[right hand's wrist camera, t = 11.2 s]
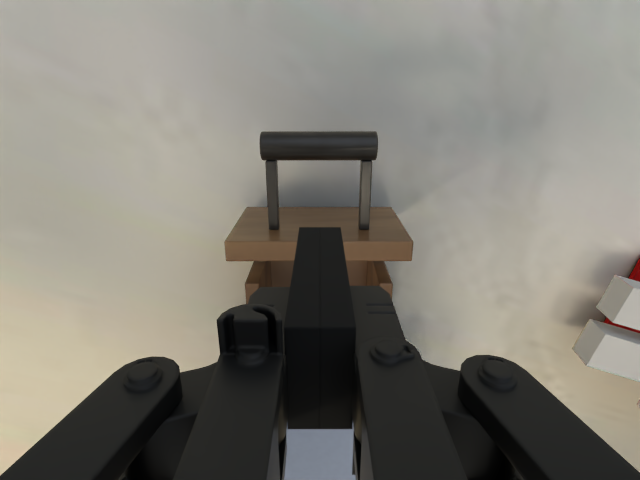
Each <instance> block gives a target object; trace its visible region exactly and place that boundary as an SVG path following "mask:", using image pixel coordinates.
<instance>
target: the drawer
mask: <svg viewBox="0 0 640 480" xmlns="http://www.w3.org/2000/svg"><path fill="white" fill-rule="evenodd" d="M377 152H378V136H377V132H261V134H260V154H261V158H262V160H266V183H267V204H268V207H247V208H246V209H245V211H244V212H243V214H242V215H241V217H240V219H239V220H238V222H237V223H236V225H235V226H234V228H233V229H232V231H231V233H230V234H229V236H228V237H227V239H226V240H225V253H226V261H254V262H253V265H252V267H251V270H250V272H249V275H248V277H247V280H246V283H245V292H246V304H248V301H249V298H250V295H252V294H253V293H254V292H255V291H256V290H257V289H259V288H260V287H290V284H291V278H292V272H293V265H294V259H295V252H296V246H297V239H298V233H299V227H341V233H342V239H343V246H344V252H345V259H346V265H347V272H348V278H349V284H350V286H381V287H382V288H383V289H384V290H385V291H387V292H388V293H389V294H390V297H391V300H392V289H393V283H392V281H391V278H390V276H389V273H388V270H387V268H386V265H385V263H384V261H411V260H412V251H413V240H412V239H411V237H410V236H409V234H408V233H407V231H406V229H405V228H404V226H403V225H402V223H401V222H400V220H399V218H398V217H397V215H396V214H395V212H394V211H393V209H392V207H370V201H371V179H372V161H371V160H376V158H377ZM277 160H361V164H360V192H359V207H279V196H278V169H277Z"/></svg>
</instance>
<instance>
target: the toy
mask: <svg viewBox="0 0 640 480" xmlns="http://www.w3.org/2000/svg"><path fill="white" fill-rule="evenodd" d="M596 308H597V309H599V310H600V311H601V312H602V313H603V314H604V315H605V316H606V319H605V321H604V322H600V321H596V320H593V319H589V320H588V322H587V324H586V325H585V327H584V329H583V331H582V332H581V334H580V336H579V338H578V339H577V341H576V343H575V344H574V346H573V348H572V349H573V350H574V351H575V352H576V354H577V355H578V356H579V357H580V359H581V360H582V361H583V362H584V364H585V365H586V366H588V367H591V368H595V369H598V370H601V371H605V372H608V373H611V374H615V375H618V376H621V377H625V378H628V379H631V380H635V381H638V382H640V258H639V260H638V262H637V264H636V265H635V267H634V269H633V271H632V273H631V274H630V276H629V278H625V277H621V276H618V275H614V277H613V279H612V281H611V282H610V284H609V286H608V287H607V289H606V291H605V293H604V294H603V296H602V298H601V300H600V301H599V303H598V305H597V306H596ZM637 405H638V406H639V407H640V399H639V401H638V403H637Z"/></svg>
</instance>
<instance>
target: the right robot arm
mask: <svg viewBox="0 0 640 480" xmlns="http://www.w3.org/2000/svg"><path fill="white" fill-rule="evenodd" d="M217 327H218V337H219V346H220V356H219V359H218V362H216V363H214V364H212V365H209V366H206V367H203V368H199V369H195V370H190V371H186V372H181V373H180V370H179V366H178V365H177V364H176V363H175V361H174V360H171V359H168V358H165V357H148V358H142V359H138V360H136V361H133V362H131V363H129V364H126V365H124V366H123V367H121V368H120V369H119V370H117V371H116V372H114V373H113V374H112V375H111V376H110V377H109V378H108V379H107V380H105V381H104V382H103V383H102V384H101V385H100V386H99V387H98V388H97V389H96V390H94V391H93V392H92V393H91V394H90V395H89V396H88V397H87V398H86V399H84V400H83V401H82V402H81V403H80V404H79V405H78V406H77V407H76V408H75V409H73V410H72V411H71V412H70V413H69V414H68V415H67V416H66V417H65V418H64V419H62V420H61V421H60V422H59V423H58V424H57V425H56V426H55V427H54V428H52V429H51V430H50V431H49V432H48V433H47V434H46V435H45V436H44V437H43V438H41V439H40V440H39V441H38V442H37V443H36V444H35V445H34V446H33V447H32V448H30V449H29V450H28V451H27V452H26V453H25V454H24V455H23V456H22V457H20V458H19V459H18V460H17V461H16V462H15V463H14V464H13V465H12V466H11V467H9V468H8V469H7V470H6V471H5V472H4V473H3V474H2V475H1V476H0V480H284V477H285V466H286V455H287V436H286V430H287V427H288V429H352V427H353V428H354V436H353V463H352V475H355V476H356V480H640V473H639V472H638V471H637V470H636V469H635V468H634V467H633V466H632V465H630V464H629V463H628V462H627V461H626V460H625V459H624V458H623V457H622V456H620V455H619V454H618V453H617V452H616V451H615V450H614V449H613V448H612V447H610V446H609V445H608V444H607V443H606V442H605V441H604V440H603V439H602V438H600V437H599V436H598V435H597V434H596V433H595V432H594V431H593V430H592V429H590V428H589V427H588V426H587V425H586V424H585V423H584V422H583V421H582V420H580V419H579V418H578V417H577V416H576V415H575V414H574V413H573V412H572V411H570V410H569V409H568V408H567V407H566V406H565V405H564V404H563V403H562V402H560V401H559V400H558V399H557V398H556V397H555V396H554V395H553V394H552V393H550V392H549V391H548V390H547V389H546V388H545V387H544V386H543V385H542V384H540V383H539V382H538V381H537V380H536V379H535V378H534V377H533V376H532V375H530V374H529V373H528V372H527V371H526V370H524V369H523V368H522V367H520V366H519V365H517V364H516V363H514V362H511V361H509V360H507V359H504V358H501V357H497V356H491V355H476V356H473V357H470V358H467V359H466V360H465V361H464V362H463V363H462V364H461V370H460V371H458V370H453V369H448V368H444V367H440V366H436V365H433V364H430V363H428V362H426V361H423V360H422V358H421V356H420V353H419V352H418V351H417V349H416V348H415V346H413V345H412V344H410V343H409V342H407V341H406V340H405V337H404V334H403V331H402V328H401V325H400V323H399V320H398V317H397V314H396V311H395V308H394V306H393V302H392V300H391V297H390V294H389V293H388V292H387V291H385V290H384V289H383V288H382V287H381V286H350V284H349V278H348V272H347V265H346V259H345V252H344V246H343V239H342V233H341V227H299V233H298V239H297V246H296V252H295V259H294V265H293V272H292V278H291V284H290V287H260V288H259V289H257V290H256V291H255V292H254V293H253V294H252V295H250V298H249V301H248V304H246V305H240V306H237V307H234V308H231V309H229V310H227V311H226V312H224V313H222V314H221V315H220V317H219V318H218V319H217Z"/></svg>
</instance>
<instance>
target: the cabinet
mask: <svg viewBox="0 0 640 480" xmlns="http://www.w3.org/2000/svg"><path fill="white" fill-rule="evenodd" d="M286 436H287V455H286V466H285V477H284V480H356V476H355V475H352V463H353V436H354V428H353V427H352V429H288V427H287V430H286Z"/></svg>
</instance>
